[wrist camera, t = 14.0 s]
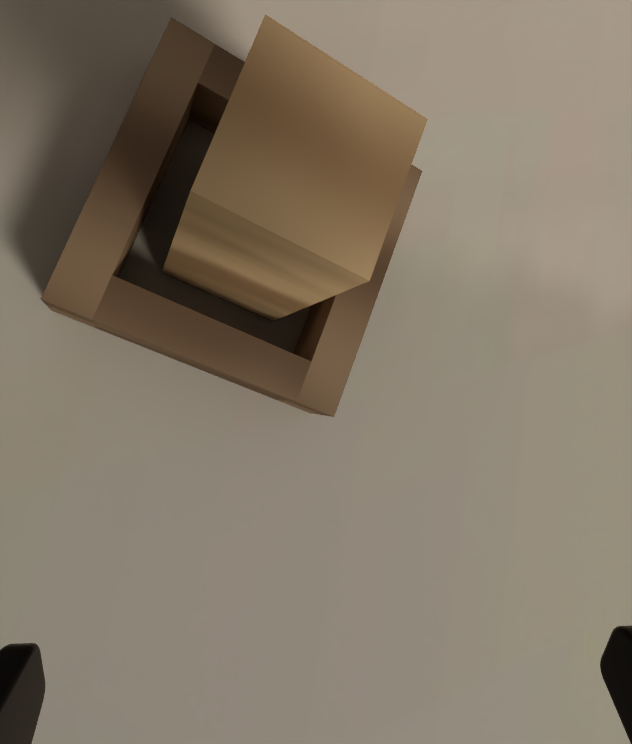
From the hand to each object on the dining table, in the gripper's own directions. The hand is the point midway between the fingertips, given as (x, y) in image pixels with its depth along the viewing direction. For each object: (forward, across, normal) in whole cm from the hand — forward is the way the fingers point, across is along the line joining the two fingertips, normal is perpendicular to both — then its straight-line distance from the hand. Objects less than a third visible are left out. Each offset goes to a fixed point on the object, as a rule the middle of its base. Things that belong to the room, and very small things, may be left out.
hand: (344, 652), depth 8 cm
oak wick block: (+15, +2, -4) cm, 15 cm away
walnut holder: (+15, +2, -4) cm, 15 cm away
